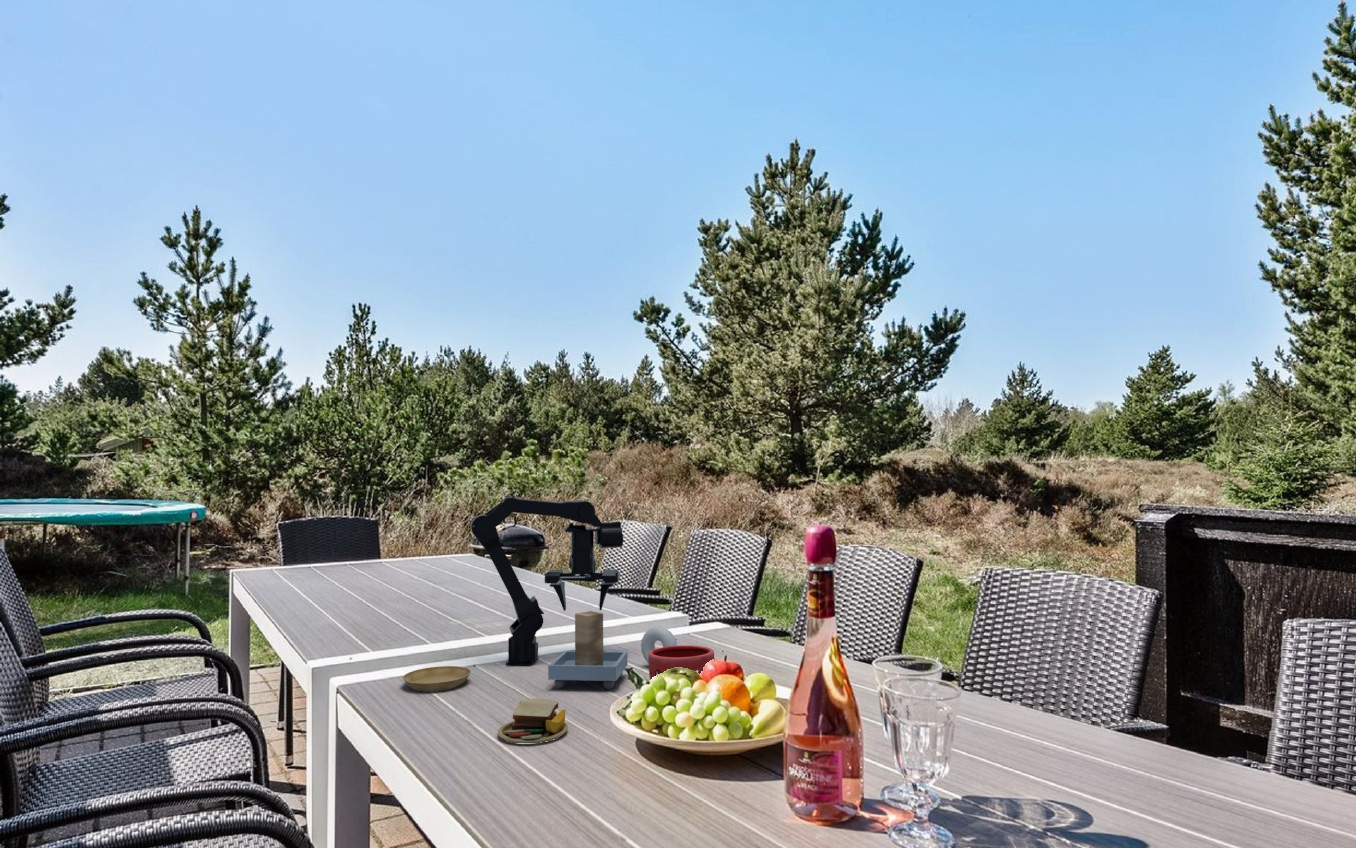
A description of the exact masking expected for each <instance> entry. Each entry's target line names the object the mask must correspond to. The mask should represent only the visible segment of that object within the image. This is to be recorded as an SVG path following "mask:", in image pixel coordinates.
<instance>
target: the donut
mask: <svg viewBox="0 0 1356 848" xmlns="http://www.w3.org/2000/svg"><path fill="white" fill-rule="evenodd" d="M657 641H658V642H660V643H661V644H662V647H667V646H678V643H677V640H676V637H675V636H674V634H673V633H672V631H670V630H669V629H668V628H666V627H663V626H661V625H660V626H658V625H657V626H652V627H651V628H649V629H647V631H645V633H644V634H643V637H642V639H641V643H640V649H641V653H642V656H643V659H644V660H645V662H646V663H647V664H648V665H649V662H648V661H649V657H648V655H649V652H650V651H652V650H654V649H656V647H655V645H656V643H657Z"/></svg>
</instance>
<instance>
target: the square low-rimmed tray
mask: <svg viewBox="0 0 1356 848" xmlns="http://www.w3.org/2000/svg"><path fill="white" fill-rule="evenodd" d="M628 657H629V656H628V651H608V650H607V651H604V650H603V666H593V665H575V650H564V651H563V652H561V654H560V655H558V656H557V657H556V658H555V659H554V660H553V661H551V663H550V664H548V667H547V671H548V672H547V674H548V675H547V679H548V680H550V681H551V680H552V681H553V680H554V682H553V685H554V687H555V688H557V689H558V690H560V689H561V690H562V689H563V688H564V687H565V686H566V681H590V682H591V681H593V682H594V681H597V682H598V681H599V682H603V688H604V689H605V690H608V691H610V690H612V689H613V688H614V687H615V682H617V680H618V679H619V678H620V677H622V676H623V672H624V670H625V669H626V668H627V666H628V664H629V663H628V661H629V659H628Z"/></svg>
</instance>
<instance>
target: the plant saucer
mask: <svg viewBox="0 0 1356 848" xmlns="http://www.w3.org/2000/svg"><path fill="white" fill-rule="evenodd" d="M471 673H472V670H471V669H470V668H469V667H468V668H467V667H463V666H457V665H456V666H455V665H444V666H443V665H442V666H441V665H439V666H431V667H425V668H424V667H423V668H419V669H416V670H411V671H409V672H407V673H405V674H404V675H403V676H402V679H403V681H404V683H405V684H407V686H408V687H409V688H411V689H412V690H414V691H418V692H426V693H427V692H428V693H429V692H430V693H431V692H443V691H449V690H452V689H456V688H458V687H460V686H461V685H462V684H464V682H466V680H467V679H468V678H469V676H470V675H471Z"/></svg>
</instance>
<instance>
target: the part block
mask: <svg viewBox="0 0 1356 848" xmlns="http://www.w3.org/2000/svg"><path fill="white" fill-rule="evenodd" d="M574 651H575V665H593V666H603V651H604V613H602V612H597V611H593V610H592V611H591V610H589V611H583V612H577V613H575V614H574Z"/></svg>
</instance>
